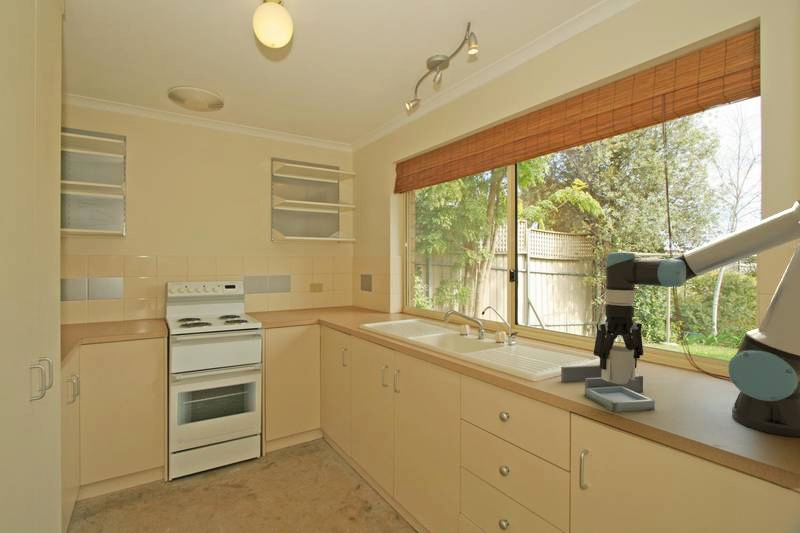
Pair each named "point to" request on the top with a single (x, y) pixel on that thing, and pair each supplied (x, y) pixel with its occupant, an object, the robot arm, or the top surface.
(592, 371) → the holder
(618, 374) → the cup
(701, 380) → the top surface
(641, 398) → the tray
